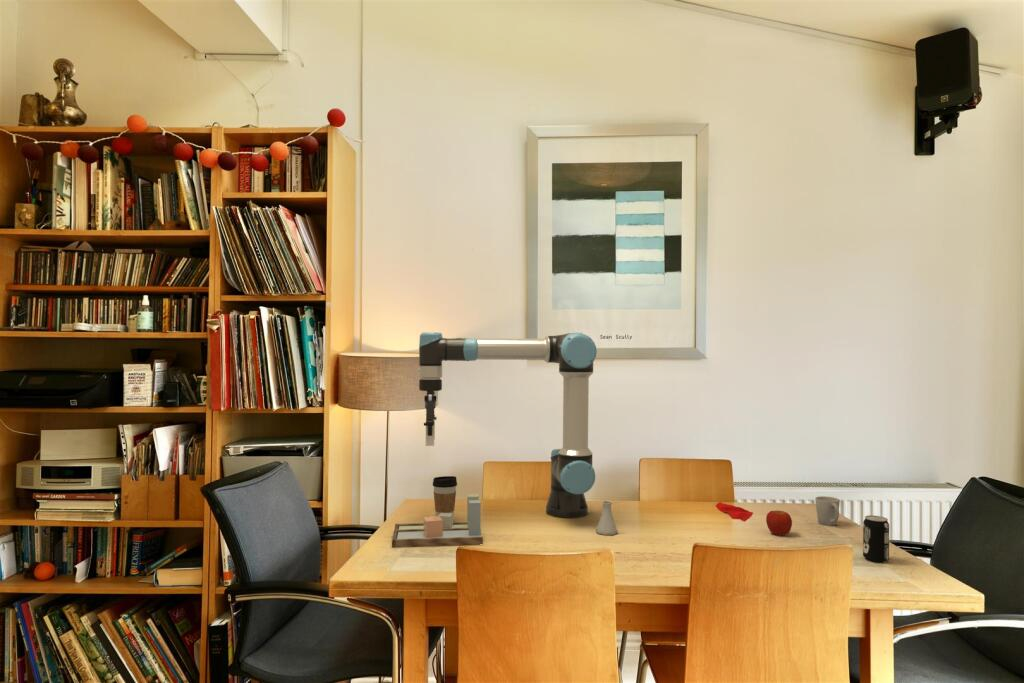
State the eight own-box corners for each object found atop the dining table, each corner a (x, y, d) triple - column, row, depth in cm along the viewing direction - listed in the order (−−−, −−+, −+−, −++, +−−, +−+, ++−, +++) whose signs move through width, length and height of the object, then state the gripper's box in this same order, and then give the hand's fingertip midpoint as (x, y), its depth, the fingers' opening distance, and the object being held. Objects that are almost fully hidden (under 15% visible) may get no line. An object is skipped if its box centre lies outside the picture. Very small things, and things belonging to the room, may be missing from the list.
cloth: (761, 524, 233) (761, 518, 233) (719, 522, 235) (719, 516, 235) (747, 506, 259) (747, 500, 259) (710, 504, 261) (710, 498, 261)
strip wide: (479, 535, 215) (480, 498, 215) (481, 543, 207) (482, 504, 207) (398, 537, 212) (398, 500, 212) (396, 546, 204) (396, 506, 204)
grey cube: (453, 525, 220) (453, 513, 220) (450, 529, 216) (450, 516, 216) (441, 525, 220) (441, 512, 220) (437, 528, 216) (437, 516, 216)
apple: (780, 539, 214) (780, 514, 214) (760, 532, 221) (760, 508, 221) (797, 535, 218) (797, 511, 218) (777, 529, 225) (777, 506, 225)
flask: (619, 530, 222) (620, 500, 222) (615, 536, 215) (616, 505, 215) (598, 528, 225) (598, 498, 225) (593, 534, 218) (593, 503, 218)
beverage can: (858, 556, 197) (858, 515, 197) (879, 555, 198) (880, 514, 198) (872, 563, 191) (872, 521, 191) (894, 563, 191) (894, 520, 191)
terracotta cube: (439, 532, 212) (439, 516, 212) (442, 536, 208) (442, 520, 208) (423, 533, 211) (423, 517, 211) (426, 537, 206) (426, 521, 206)
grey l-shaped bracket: (478, 529, 222) (478, 493, 222) (479, 534, 217) (479, 497, 217) (399, 531, 219) (399, 495, 219) (398, 536, 214) (398, 498, 214)
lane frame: (478, 529, 223) (478, 521, 223) (482, 545, 206) (482, 537, 206) (395, 531, 220) (395, 523, 220) (392, 548, 202) (392, 540, 202)
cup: (831, 520, 236) (831, 496, 236) (848, 528, 226) (848, 503, 226) (810, 521, 236) (810, 496, 236) (826, 529, 226) (827, 503, 226)
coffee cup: (453, 524, 228) (453, 480, 228) (429, 523, 230) (429, 479, 230) (459, 518, 236) (460, 475, 236) (436, 517, 238) (436, 474, 238)
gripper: (420, 376, 238) (420, 437, 238) (417, 381, 213) (417, 448, 213) (442, 376, 239) (441, 436, 239) (441, 380, 214) (441, 448, 214)
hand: (430, 442), depth 226 cm, fingers open, 13 cm apart
